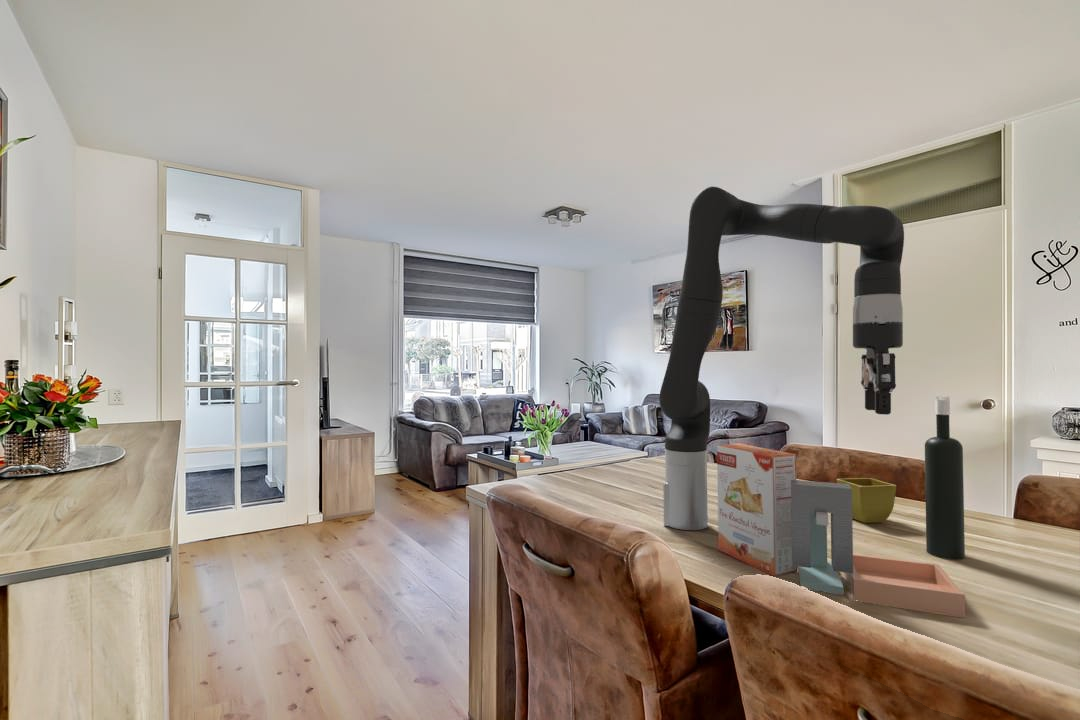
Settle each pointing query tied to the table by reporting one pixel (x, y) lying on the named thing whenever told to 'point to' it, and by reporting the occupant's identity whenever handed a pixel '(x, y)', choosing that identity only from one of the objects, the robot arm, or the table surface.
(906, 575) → the tray
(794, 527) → the grey arch block
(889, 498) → the flower pot
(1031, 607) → the table surface
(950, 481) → the wine bottle
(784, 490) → the cracker box
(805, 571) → the peg stand
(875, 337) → the robot arm
